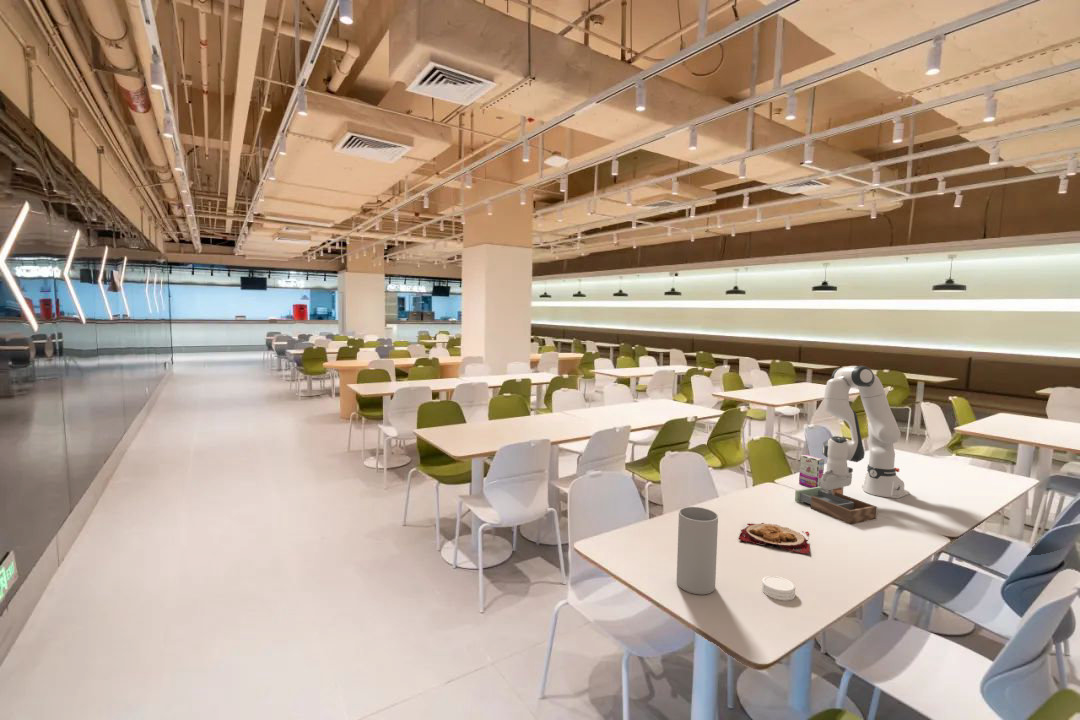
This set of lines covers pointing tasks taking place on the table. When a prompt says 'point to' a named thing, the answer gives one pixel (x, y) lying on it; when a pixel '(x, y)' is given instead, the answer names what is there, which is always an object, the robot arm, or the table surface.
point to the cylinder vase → (697, 550)
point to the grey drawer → (822, 497)
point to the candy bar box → (811, 471)
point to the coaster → (778, 588)
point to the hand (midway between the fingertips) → (835, 496)
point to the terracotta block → (838, 491)
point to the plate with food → (775, 537)
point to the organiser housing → (845, 510)
